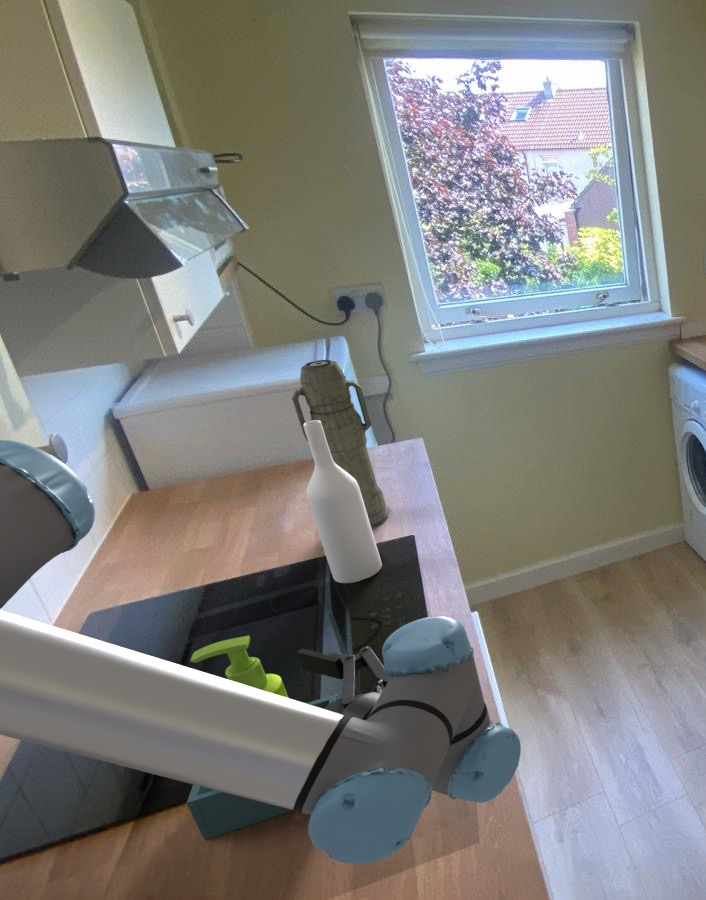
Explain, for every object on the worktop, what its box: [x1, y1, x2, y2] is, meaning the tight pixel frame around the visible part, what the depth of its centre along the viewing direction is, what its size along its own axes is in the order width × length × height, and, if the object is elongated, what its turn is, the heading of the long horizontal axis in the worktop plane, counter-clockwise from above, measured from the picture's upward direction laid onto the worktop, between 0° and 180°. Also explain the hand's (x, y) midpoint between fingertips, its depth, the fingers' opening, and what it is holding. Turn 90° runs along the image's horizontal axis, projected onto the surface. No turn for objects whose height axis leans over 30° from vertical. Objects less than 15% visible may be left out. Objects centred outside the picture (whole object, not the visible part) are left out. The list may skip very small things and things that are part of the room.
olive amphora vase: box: [291, 359, 389, 529], centre depth 150 cm, size 9×12×35 cm
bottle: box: [303, 420, 383, 584], centre depth 131 cm, size 8×8×30 cm
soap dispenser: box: [189, 635, 289, 698], centre depth 88 cm, size 6×7×20 cm
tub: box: [186, 694, 340, 841], centre depth 91 cm, size 14×13×6 cm
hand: (249, 694), depth 86 cm, fingers open, 13 cm apart
